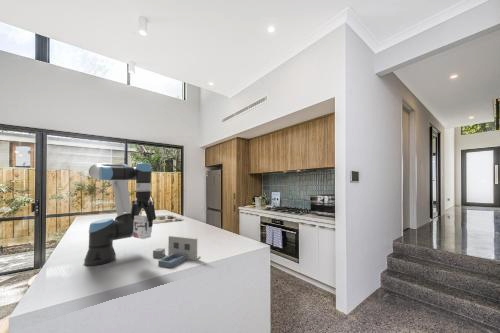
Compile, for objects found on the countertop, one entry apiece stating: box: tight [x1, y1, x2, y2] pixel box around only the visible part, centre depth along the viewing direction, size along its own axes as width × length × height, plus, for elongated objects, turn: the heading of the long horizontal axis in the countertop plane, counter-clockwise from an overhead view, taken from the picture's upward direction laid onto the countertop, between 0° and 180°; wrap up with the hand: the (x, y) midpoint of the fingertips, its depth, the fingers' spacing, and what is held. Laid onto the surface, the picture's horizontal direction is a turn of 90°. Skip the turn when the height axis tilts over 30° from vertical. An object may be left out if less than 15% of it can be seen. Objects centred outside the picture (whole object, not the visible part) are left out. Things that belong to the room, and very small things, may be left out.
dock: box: [157, 253, 187, 269], centre depth 123 cm, size 9×13×3 cm
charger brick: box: [152, 247, 166, 259], centre depth 134 cm, size 6×5×4 cm
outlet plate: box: [167, 235, 201, 261], centre depth 133 cm, size 20×5×12 cm, turn 69°
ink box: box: [133, 214, 152, 240], centre depth 120 cm, size 8×5×12 cm, turn 60°
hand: (142, 232), depth 119 cm, fingers closed on ink box, 9 cm apart
